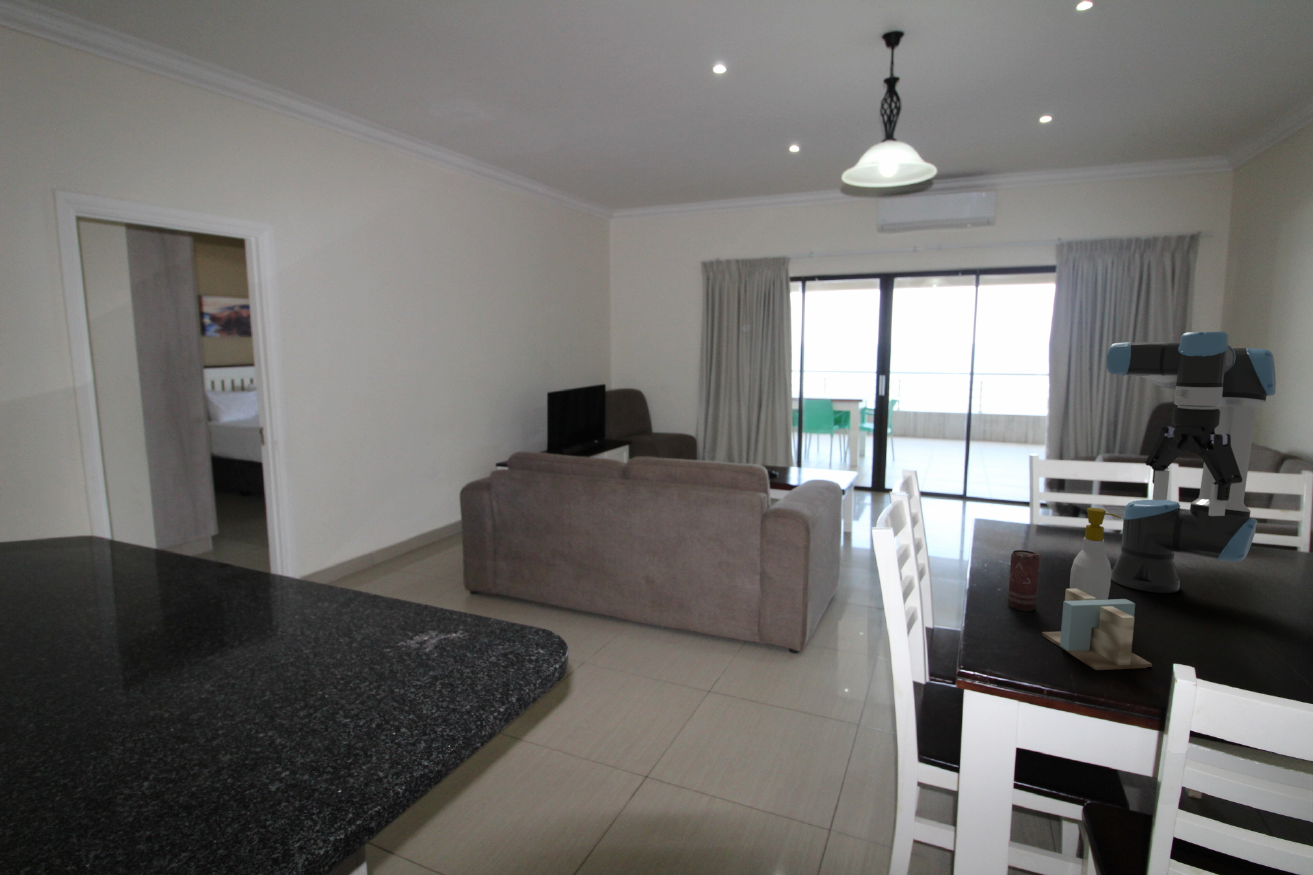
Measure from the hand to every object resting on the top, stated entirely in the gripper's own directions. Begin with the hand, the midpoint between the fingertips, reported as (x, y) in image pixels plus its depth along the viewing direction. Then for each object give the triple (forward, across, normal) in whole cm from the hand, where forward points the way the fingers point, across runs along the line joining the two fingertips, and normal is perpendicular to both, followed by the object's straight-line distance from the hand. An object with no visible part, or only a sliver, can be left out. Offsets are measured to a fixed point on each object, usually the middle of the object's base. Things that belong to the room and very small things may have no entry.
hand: (1186, 507), depth 136 cm
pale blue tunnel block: (+30, +2, -19) cm, 35 cm away
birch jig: (+30, +2, -19) cm, 36 cm away
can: (+31, -22, -20) cm, 43 cm away
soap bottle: (+31, -18, -6) cm, 36 cm away
